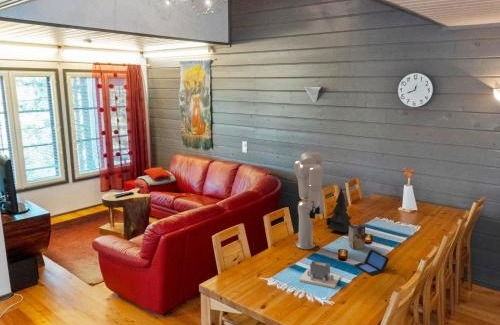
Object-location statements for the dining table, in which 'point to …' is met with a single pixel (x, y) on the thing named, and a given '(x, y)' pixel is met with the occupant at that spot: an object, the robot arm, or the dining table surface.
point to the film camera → (328, 221)
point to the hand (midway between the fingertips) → (314, 216)
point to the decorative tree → (340, 215)
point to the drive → (320, 270)
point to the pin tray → (330, 283)
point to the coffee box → (356, 236)
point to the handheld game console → (373, 263)
